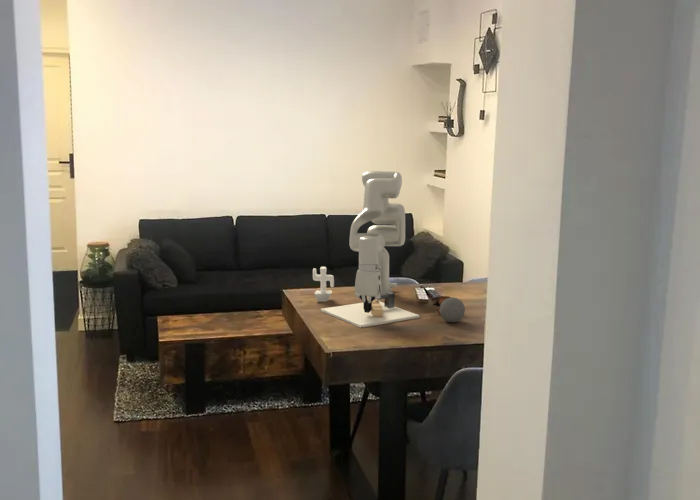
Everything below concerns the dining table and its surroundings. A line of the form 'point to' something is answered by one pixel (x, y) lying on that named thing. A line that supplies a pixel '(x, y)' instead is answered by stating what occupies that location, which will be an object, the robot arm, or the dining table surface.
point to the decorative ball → (452, 309)
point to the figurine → (323, 284)
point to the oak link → (376, 308)
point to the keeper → (388, 299)
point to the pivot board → (368, 314)
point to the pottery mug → (439, 302)
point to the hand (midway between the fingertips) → (367, 311)
